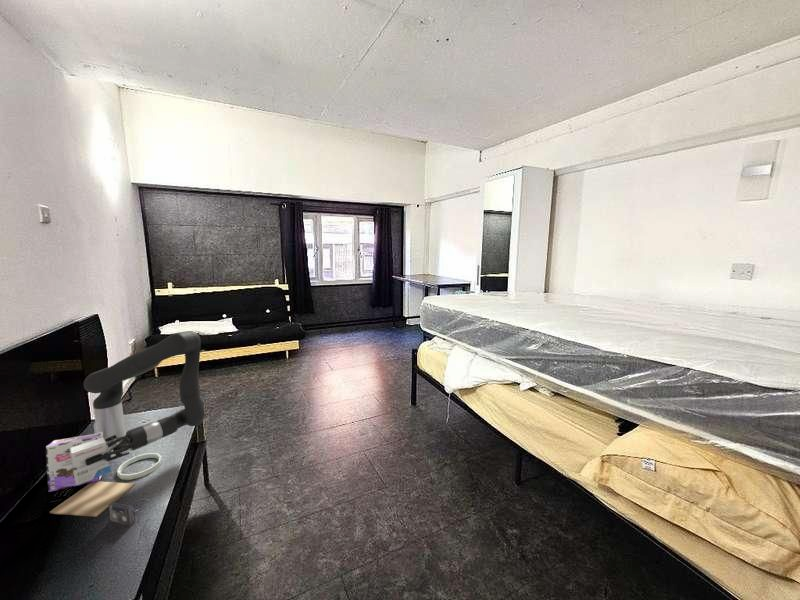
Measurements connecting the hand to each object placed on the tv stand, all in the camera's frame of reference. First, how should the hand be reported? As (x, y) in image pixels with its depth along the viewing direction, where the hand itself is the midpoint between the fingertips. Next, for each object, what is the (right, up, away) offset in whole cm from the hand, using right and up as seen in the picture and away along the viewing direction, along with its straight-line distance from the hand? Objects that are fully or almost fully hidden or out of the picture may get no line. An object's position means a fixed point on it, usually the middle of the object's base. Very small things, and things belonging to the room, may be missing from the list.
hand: (83, 459), depth 105 cm
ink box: (+1, -7, +2) cm, 8 cm away
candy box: (-12, -14, +10) cm, 21 cm away
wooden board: (0, -15, +4) cm, 16 cm away
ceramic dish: (+3, -13, +19) cm, 23 cm away
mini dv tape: (+18, -17, -5) cm, 25 cm away
